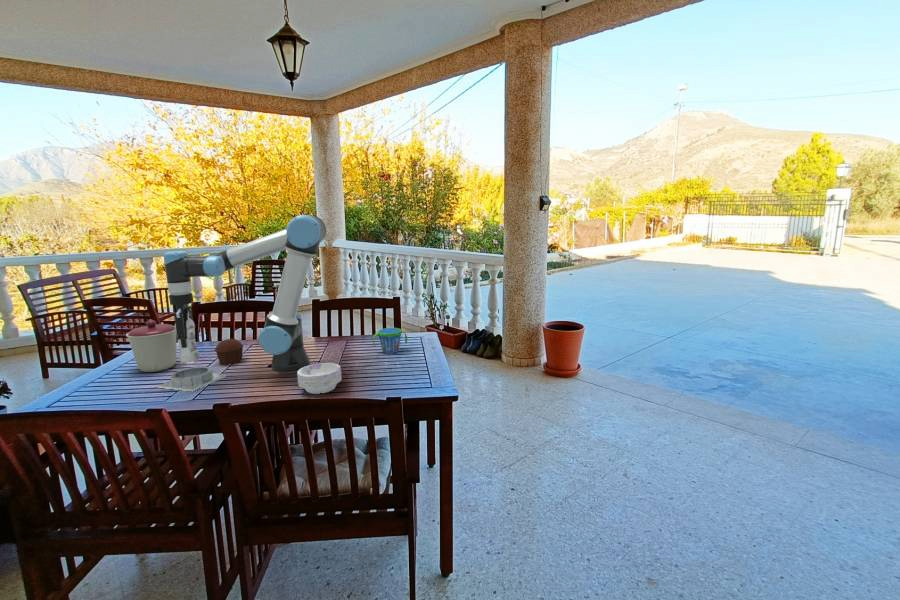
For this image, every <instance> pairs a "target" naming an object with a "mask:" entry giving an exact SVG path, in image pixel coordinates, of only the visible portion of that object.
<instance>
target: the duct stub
mask: <svg viewBox="0 0 900 600" xmlns="http://www.w3.org/2000/svg"><path fill="white" fill-rule="evenodd" d="M226 377H227V376H226V374H225V373H215V372H213V369H212V367H210V366H192V367H188V368H184V369H180V370H177V371H175V372H173V373H172V374H171V376H170V380H169V381H167V382H164V383H162V384H159V385H157V387H158V389H159V388H165V389H164V390H169V389H174V390H173V391H178V390H182V391H181V392H187V391H192V392H191V393H194V392H196V391H198V390H200V389H202V387H203V388H204V386H205V387H206V385H207V386H209V385H212V384H213V383H215V382H218V381H220V380H222V379H224V378H226ZM217 380H218V381H217ZM208 384H209V385H208ZM199 388H200V389H199ZM197 389H198V390H197ZM195 390H196V391H195ZM193 391H194V392H193Z"/></svg>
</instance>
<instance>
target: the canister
mask: <svg viewBox="0 0 900 600" xmlns="http://www.w3.org/2000/svg"><path fill="white" fill-rule="evenodd" d="M174 326H175V325H173V324H169V323H162V324H161V323H158V324H157V320H154V319H150V320H147V321H146V322H145V325H143V326H139V327H135V328H134V329H131V330H130V331H128V332H126V334H125V336H126V338H128V341H129V344H130V348H131V351H132V355H133V357H134V359H135V360H134V361H135V363H136V365H137V367H138V369H139V371H141V372H144V373H155V372H161V371H165V370H169V369H171V368H173V367H174V366H175V364H176V363H177V333H176V330H175V327H174Z"/></svg>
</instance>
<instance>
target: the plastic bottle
mask: <svg viewBox="0 0 900 600" xmlns="http://www.w3.org/2000/svg"><path fill="white" fill-rule="evenodd" d="M173 326H174V327H175V330H176V323H174V325H173ZM186 327H187V338H188V339H189V346H190V354H191V355H190V356H182V353H181V346H180V340H178V348H179V349H178V351H179V352H178V358H179V362H180V363H182V364H192V363H195V362H198V360H199V359H200V353H199V350H198V346H197V342H196V330H195V328H196V325H195V322H194V320H193V321H192V320H191V319H190V318H189V311H188V320H187V322H186ZM176 334H177V331H176ZM181 336H182V335H181Z"/></svg>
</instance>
